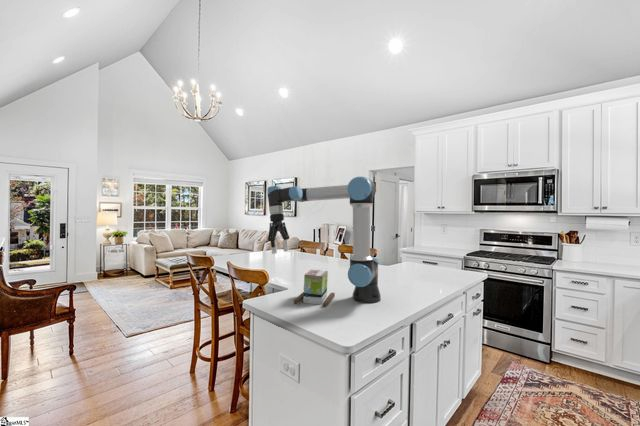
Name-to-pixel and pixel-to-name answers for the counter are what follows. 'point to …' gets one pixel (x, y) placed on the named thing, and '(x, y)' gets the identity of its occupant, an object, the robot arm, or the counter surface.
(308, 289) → the tea box
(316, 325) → the counter surface
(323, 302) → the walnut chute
